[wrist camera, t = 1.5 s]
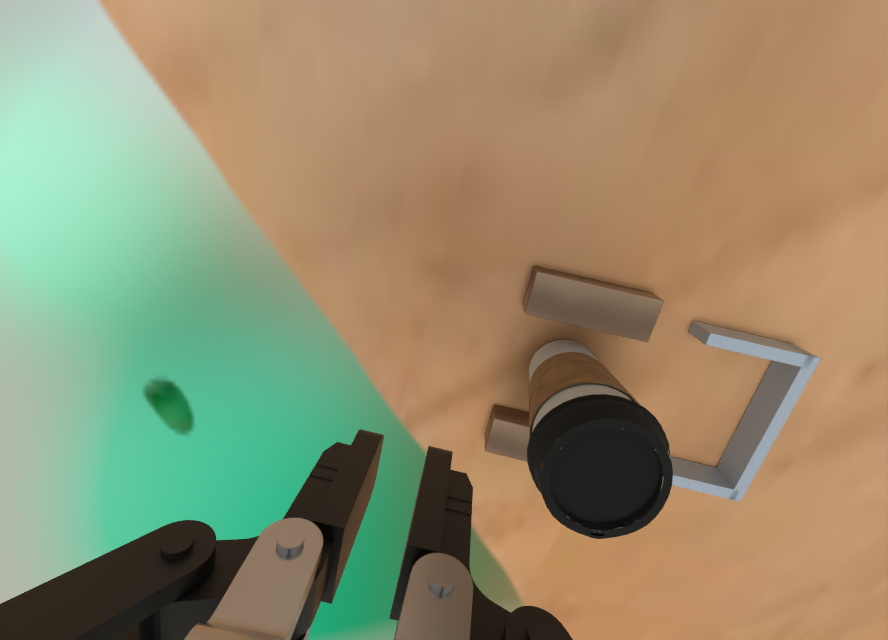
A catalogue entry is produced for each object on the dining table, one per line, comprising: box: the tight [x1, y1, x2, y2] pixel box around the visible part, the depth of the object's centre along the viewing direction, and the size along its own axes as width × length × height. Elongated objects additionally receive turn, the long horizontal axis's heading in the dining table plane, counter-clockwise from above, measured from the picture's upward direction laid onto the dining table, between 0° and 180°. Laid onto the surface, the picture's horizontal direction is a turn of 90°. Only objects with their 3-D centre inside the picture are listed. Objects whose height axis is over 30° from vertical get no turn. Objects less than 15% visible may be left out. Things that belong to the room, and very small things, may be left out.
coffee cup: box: [527, 339, 673, 539], centre depth 31 cm, size 8×8×15 cm
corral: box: [670, 321, 821, 501], centre depth 36 cm, size 14×8×3 cm, turn 168°
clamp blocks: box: [485, 266, 664, 462], centre depth 37 cm, size 17×10×2 cm, turn 168°
